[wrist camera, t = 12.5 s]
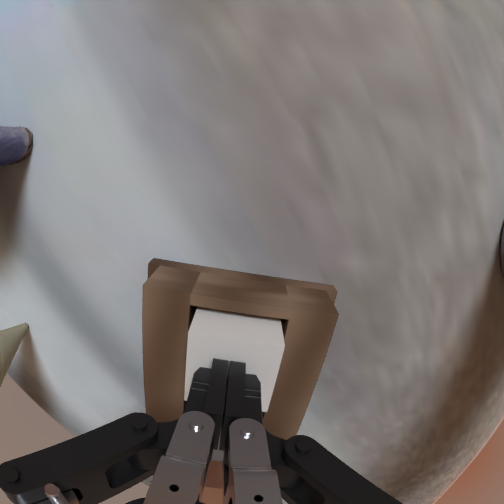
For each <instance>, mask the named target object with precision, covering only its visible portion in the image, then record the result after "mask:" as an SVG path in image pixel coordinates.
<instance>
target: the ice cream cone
mask: <svg viewBox="0 0 504 504" xmlns="http://www.w3.org/2000/svg"><path fill="white" fill-rule="evenodd" d="M28 328H29V326H28V324H27V323H24V324H20V325H17V326H14V327H11V328H8V329H5V330H2V331H0V386H1V384H2V382H3V379H4V377H5V375H6V373H7V370H8V368H9V366H10V364H11V362H12V360H13V357H14V355H15V353H16V351H17V349H18V347H19V345H20V343H21V341H22V339H23V337H24V335H25V333H26V331H27V330H28Z"/></svg>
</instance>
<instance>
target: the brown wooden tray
mask: <svg viewBox="0 0 504 504" xmlns="http://www.w3.org/2000/svg"><path fill="white" fill-rule="evenodd" d="M336 295H337V291H336V289H335V287H334V286H333V285H326V284H319V283H312V282H305V281H298V280H291V279H284V278H277V277H270V276H263V275H257V274H250V273H243V272H237V271H230V270H224V269H217V268H211V267H205V266H198V265H192V264H186V263H180V262H174V261H168V260H162V259H156V258H153V259H152V260H151V261H150V262H149V263H148V280H147V281H146V282H145V283H144V284H143V307H142V333H143V370H144V390H145V405H146V414H148V415H150V416H151V417H153V418H154V419H155V420H156V422H171V421H174V420H177V419H178V418H180V416H181V415H182V414H183V413H184V411H185V407H186V403H187V401H184V392H185V373H186V356H187V341H188V331H189V328H190V326H191V323H192V320H193V318H194V315H195V312H196V309H197V307H198V306H199V307H205V308H211V309H218V310H224V311H230V312H237V313H244V314H251V315H258V316H265V317H273V318H280V319H281V325H282V331H283V337H284V343H285V348H284V352H283V356H282V360H281V364H280V367H279V371H278V375H277V379H276V382H275V386H274V390H273V393H272V397H271V400H270V404H269V407H268V411H267V412H262V423H263V426H264V428H265V429H266V430H267V431H268V432H269V433H270V434H272V435H274V436H276V437H279V438H282V439H285V440H288V439H289V438H290V437H292V436H296V434H297V432H298V430H299V427H300V425H301V422H302V420H303V417H304V415H305V412H306V409H307V407H308V404H309V401H310V399H311V396H312V393H313V391H314V388H315V385H316V382H317V380H318V377H319V374H320V371H321V368H322V365H323V362H324V359H325V356H326V353H327V350H328V347H329V344H330V341H331V338H332V335H333V332H334V328H335V325H336V322H337V319H338V315H339V314H338V312H337V310H336V308H335V306H334V302H335V299H336ZM153 476H154V475H153Z"/></svg>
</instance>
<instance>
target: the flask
mask: <svg viewBox="0 0 504 504" xmlns="http://www.w3.org/2000/svg"><path fill="white" fill-rule="evenodd" d="M30 144H31V147H30V148H29V146H30ZM32 146H33V145H32V132H30V131H29V130H28V129H27V128H24V127H2V126H0V167H1V166H6V165H10V164H13V163H17V162H19V161H21V160H23V159H25V158H26V156H28V155H29V154H30V151H31V149H32ZM28 148H29V149H28Z"/></svg>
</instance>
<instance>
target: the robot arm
mask: <svg viewBox="0 0 504 504" xmlns="http://www.w3.org/2000/svg"><path fill="white" fill-rule="evenodd" d="M500 254H501V266H502V272H503V275H504V228H503V233H502V239H501V251H500ZM228 364H229V360H222V359H216V358H213V362H212V367H211V369H210V368H204V367H200V368H198V369H197V370H196V371H195V372H194V375H193V379H192V383H191V386H190V391H189V395H188V399H187V403H186V407H185V411H184V413H183V414H182V415H181V416H180V418H178V419H177V420H174V421H171V422H156V420H155V419H154V418H153V417H151V416H150V415H148V414H145V413H131V414H129V415H126V416H124V417H122V418H120V419H117V420H115V421H113V422H111V423H108V424H106V425H104V426H101V427H99V428H97V429H94V430H92V431H89V432H87V433H85V434H82V435H80V436H77V437H75V438H72V439H70V440H67V441H64V442H62V443H59V444H57V445H54V446H51V447H48V448H46V449H43V450H40V451H37V452H34V453H32V454H29V455H26V456H23V457H19V458H16V459H13V460H10V461H7V462H4V463H2V464H1V465H0V488H1V489H2V490H3V491H4V492H5V494H6V495H7V497H8V498H9V499H10V500H11V501H12V503H13V504H98V503H100V502H102V501H105V500H107V499H109V498H111V497H113V496H115V495H117V494H119V493H121V492H123V491H124V490H126V489H128V488H130V487H132V486H134V485H136V484H138V483H139V482H141V481H143V480H145V479H147V478H148V477H150V476H152V475H154V476H153V479H152V482H151V484H150V487H149V490H148V492H147V495H146V498H140V499H136V500H133V501H130V502H128V503H126V504H205V503H202V502H201V499H202V494H203V490H204V485H205V481H206V477H207V472H208V468H209V463H210V461H211V459H212V454H213V449H214V450H217V449H218V443H219V437H220V445H219V450H222V451H224V458H223V463H222V485H223V504H283V503H282V498H283V499H284V500H285V501H286V502H287V503H288V504H402V503H401V502H399V501H398V500H396V499H395V498H393V497H392V496H390V495H389V494H387V493H386V492H384V491H383V490H381V489H380V488H378V487H377V486H375V485H374V484H373V483H371V482H370V481H368V480H367V479H365V478H364V477H363V476H361V475H360V474H358V473H357V472H356V471H354V470H353V469H352V468H350V467H349V466H348V465H346V464H345V463H344V462H342V461H341V460H340V459H338V458H337V457H336V456H334V455H333V454H332V453H330V452H329V451H328V450H327V449H325V448H324V447H323V446H322V445H320V444H319V443H318V442H317V441H315V440H314V439H312V438H311V437H308V436H304V435H296V436H292V437H290V438H289V439H288V440H285V439H282V438H279V437H276V436H274V435H272V434H270V433H269V432H268V431H267V430H266V429H265V428H264V426H263V423H262V404H261V382H260V381H259V379H258V377H257V376H256V375H254V374H246V363H244V362H237V361H230V364H229V370H228ZM227 373H228V376H227ZM220 431H221V435H220ZM281 497H282V498H281Z"/></svg>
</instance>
